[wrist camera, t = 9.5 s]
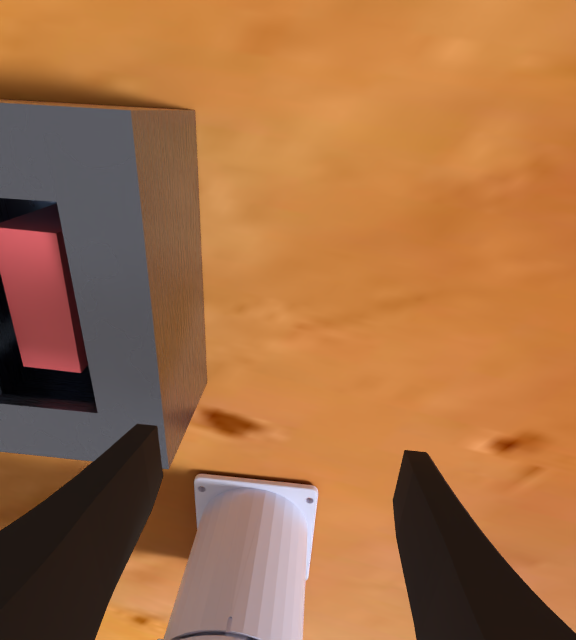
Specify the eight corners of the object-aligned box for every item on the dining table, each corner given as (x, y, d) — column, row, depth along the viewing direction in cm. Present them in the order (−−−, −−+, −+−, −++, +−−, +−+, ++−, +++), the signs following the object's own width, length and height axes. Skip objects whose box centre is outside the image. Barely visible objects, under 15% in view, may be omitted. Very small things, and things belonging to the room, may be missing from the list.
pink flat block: (130, 320, 22) (80, 373, 18) (84, 315, 22) (23, 366, 18) (118, 205, 19) (56, 233, 15) (66, 200, 20) (-12, 226, 15)
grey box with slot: (207, 382, 24) (168, 469, 18) (39, 367, 25) (-50, 446, 19) (195, 110, 18) (130, 110, 12) (-31, 97, 18) (-197, 91, 12)
